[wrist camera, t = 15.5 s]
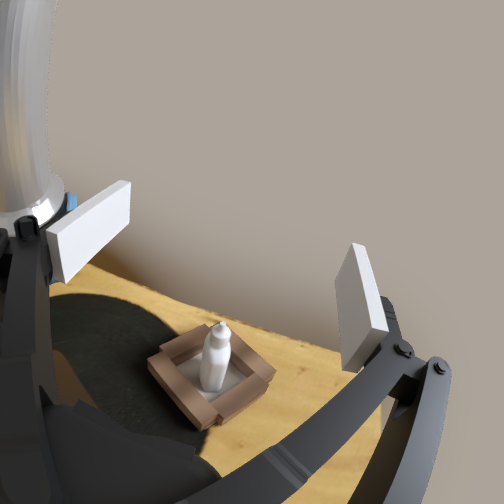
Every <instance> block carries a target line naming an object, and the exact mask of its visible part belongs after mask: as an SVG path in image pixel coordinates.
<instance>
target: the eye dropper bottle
mask: <svg viewBox="0 0 504 504" xmlns="http://www.w3.org/2000/svg"><path fill="white" fill-rule="evenodd" d="M230 336H231V330H230V329H229V328H228V327H227V326H226V323H225V322H223V321H222V322H220V324H217V325H215V326H213V327H212V329H211V332H209V333H208V335H207V336H206V339H205V342H204V347H203V353H202V359H201V365H200V371H199V379H200V383H201V386H202V388H203V389H204V390H205V391H207V392H218V391H219V390H220V389H221V386H222V383H223V380H224V376H225V373H226V370H227V366H228V363H229V359H230V354H231V347H230V342H229V340H230Z"/></svg>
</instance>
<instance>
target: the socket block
mask: <svg viewBox="0 0 504 504" xmlns="http://www.w3.org/2000/svg"><path fill="white" fill-rule="evenodd" d="M221 322H222V321H221ZM217 324H220V322H219V323H217ZM217 324H215V325H217ZM215 325H213V326H215ZM213 326H211V327H208V326H207V325H206V324H203V325H201V326H199V327H197V328H195V329H193V330H191V331H189V332H187V333H185V334H183V335H181V336H179V337H177V338H175V339H173V340H171V341H169V342H167V343H165V344H162V345H160V346H159V353H158V354H155V355H153V356H151V357H149V358H147V364H148V370H149V371H150V372H151V374H152V375H153V376H154V378H155V379H156V380H157V382H158V383H159V384H160V385H161V387H162V388H163V389H164V390H165V392H166V393H167V394H168V395H169V396H170V398H171V399H172V400H173V401H174V403H175V404H176V405H177V406H178V407H179V408H180V410H181V411H182V412H183V413H184V414H185V415H186V416H187V418H188V419H189V420H190V421H191V422H192V423H193V424H194V425H195V426H196V428H197V429H198V430H199V431H202V430H204V429H207V428H208V427H210V426H211V425H213V424H214V423H215V422H217V423H218V424H219V425H220V426H222V425H224V424H225V423H226V422H228V421H229V420H231V419H232V418H233V417H235V416H236V415H237V414H239V413H240V412H241V411H243V410H244V409H245V408H247V407H248V406H249V405H251V404H252V403H253V402H255V401H256V400H257V399H259V398H260V397H261V396H262V395H264V394H265V392H266V390H267V388H268V386H269V384H268V383H269V382H270V381H271V380H272V378H273V376H274V375H275V373H276V371H277V370H275V369H274V368H273V367H272V366H271V365H270V364H269V363H267V362H266V361H265V360H264V359H263V358H262V357H261V356H260V355H258V354H257V353H256V352H255V351H254V350H253V349H252V348H251V347H250V346H248V345H247V344H246V343H245V342H244V341H243V340H242V339H241V338H240V337H239V336H238V335H236V334H235V333H234V332H233V331H232V330H231V329H230V328H229V327H228V326H227V325H226V326H227V327H228V328H229V329H230V330H231V336H230V340H229V342H230V347H231V354H230V359H229V363H228V366H227V370H226V373H225V376H224V380H223V383H222V386H221V389H220V390H219V391H218V392H207V391H205V390H204V389H203V388H202V386H201V383H200V379H199V371H200V365H201V359H202V353H203V347H204V342H205V339H206V336H207V335H208V333H209V332H211V329H212V327H213Z"/></svg>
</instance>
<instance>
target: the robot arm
mask: <svg viewBox="0 0 504 504" xmlns="http://www.w3.org/2000/svg"><path fill="white" fill-rule="evenodd" d="M57 3H58V0H0V504H281V503H282V502H284V501H285V500H286V499H287V498H289V497H290V496H291V495H292V494H294V493H295V492H296V491H297V490H298V489H299V488H301V487H302V486H303V485H304V484H305V483H306V482H307V480H308V478H309V477H310V476H311V475H313V474H314V473H315V472H316V471H317V470H318V469H319V468H320V467H321V466H322V465H323V464H325V463H326V462H327V461H328V460H329V459H330V458H331V457H332V456H333V455H334V454H335V453H336V452H337V451H338V450H339V449H340V448H341V447H342V446H343V445H344V444H345V443H346V442H347V441H348V440H349V439H350V437H351V436H352V435H353V434H354V433H355V432H356V431H357V430H358V429H359V428H360V427H361V425H362V424H363V423H364V422H365V421H366V420H367V419H368V418H369V416H370V415H371V414H372V413H373V412H374V410H375V409H376V408H377V407H378V406H379V404H380V403H381V402H382V401H383V399H384V398H385V397H386V396H387V395H389V396H391V397H393V398H395V401H394V404H393V407H392V410H391V412H390V415H389V418H388V421H387V423H386V425H385V428H384V430H383V432H382V435H381V437H380V440H379V442H378V444H377V446H376V449H375V451H374V453H373V455H372V457H371V459H370V462H369V464H368V466H367V468H366V470H365V472H364V474H363V476H362V478H361V480H360V482H359V483H358V485H357V487H356V489H355V491H354V493H353V494H352V496H351V498H350V500H349V502H348V503H347V504H421V502H422V499H423V496H424V493H425V491H426V488H427V485H428V482H429V479H430V475H431V472H432V469H433V465H434V462H435V458H436V455H437V451H438V446H439V443H440V438H441V434H442V430H443V425H444V420H445V414H446V409H447V403H448V397H449V390H450V383H451V369H450V367H449V365H448V364H447V362H446V361H445V360H443V359H442V358H440V357H432V358H431V359H430V360H429V361H428V362H425V361H423V360H421V359H419V358H417V357H415V354H414V350H413V348H412V347H411V345H410V344H409V343H408V342H406V341H405V340H403V339H402V336H401V332H400V329H399V325H398V322H397V320H396V315H395V312H394V309H393V305H392V304H391V302H390V301H389V300H388V298H386V297H383V296H379V292H378V289H377V285H376V281H375V279H374V275H373V272H372V269H371V265H370V262H369V259H368V256H367V252H366V249H365V247H364V246H362V245H359V244H356V243H352V244H351V247H350V249H349V251H348V253H347V255H346V258H345V260H344V262H343V264H342V266H341V269H340V271H339V273H338V275H337V277H336V280H335V288H336V298H337V308H338V320H339V332H340V346H341V362H342V371H348V372H353V373H358V372H359V371H360V369H361V368H362V367H363V366H364V369H363V370H362V371H361V372H360V373H359V374H358V375H357V376H356V377H355V378H354V379H353V380H351V381H350V382H349V383H348V384H347V385H346V386H345V387H344V388H343V389H342V390H341V391H340V392H339V393H338V394H337V395H335V396H334V397H333V398H332V399H331V400H330V401H329V402H328V403H327V404H325V405H324V406H323V407H322V408H321V409H320V410H318V411H317V412H316V413H315V414H314V415H313V416H311V417H310V418H309V419H308V420H307V421H305V422H304V423H303V424H302V425H300V426H299V427H298V428H297V429H295V430H294V431H293V432H292V433H290V434H289V435H288V436H286V437H285V438H284V439H282V440H281V441H280V442H278V443H277V444H276V445H274V446H271V447H269V448H268V449H266V450H265V451H263V452H262V453H260V454H259V455H257V456H256V457H254V458H253V459H251V460H250V461H248V462H247V463H245V464H244V465H242V466H241V467H239V468H238V469H236V470H235V471H233V472H231V473H230V474H228V475H226V476H225V477H223V478H222V477H221V476H220V474H219V473H218V472H217V471H216V470H215V468H214V467H213V466H211V465H210V464H209V463H208V462H207V461H205V460H204V459H203V458H201V457H200V456H198V455H196V454H194V452H195V448H196V447H193V446H189V445H186V444H183V443H180V442H177V441H174V440H171V439H168V438H165V437H159V436H151V435H144V434H138V433H132V432H130V431H128V430H126V429H125V428H124V427H122V426H121V425H120V424H118V423H117V422H116V421H115V420H113V419H112V418H111V417H109V416H108V415H107V414H106V413H104V412H103V411H101V410H98V409H96V408H94V407H92V406H90V405H89V404H87V403H85V402H83V401H81V400H78V402H77V404H76V405H75V406H74V405H69V404H62V403H61V400H60V398H59V394H58V389H57V383H56V376H55V369H54V361H53V352H52V341H51V328H50V306H49V285H51V284H53V283H56V282H62V283H64V284H66V283H67V282H68V281H69V280H70V279H71V278H72V277H73V276H74V275H75V274H76V273H77V272H78V271H79V270H80V269H81V268H82V267H83V266H84V265H85V264H86V263H87V262H88V261H89V260H90V259H91V258H92V257H93V256H94V255H95V254H96V253H97V252H98V251H99V250H100V249H102V248H103V247H104V245H106V244H107V243H108V242H109V241H110V240H111V239H112V238H113V237H114V236H115V235H117V234H118V232H120V231H121V230H122V229H123V228H124V227H125V226H127V224H129V217H130V216H129V215H130V213H129V212H130V188H131V182H127V181H123V180H119V181H118V182H116V183H115V184H113V185H111V186H110V187H108V188H106V189H105V190H103V191H101V192H100V193H98V194H97V195H95V196H94V197H92V198H91V199H89V200H88V201H86V202H85V203H83V204H82V205H80V206H79V207H77V196H76V195H75V194H72V193H70V192H66V193H65V190H64V185H63V182H62V180H61V178H59V176H58V175H57V174H56V173H54V172H52V171H50V165H49V163H50V162H49V149H48V132H47V89H48V69H49V58H50V47H51V39H52V32H53V25H54V19H55V13H56V8H57Z"/></svg>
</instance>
